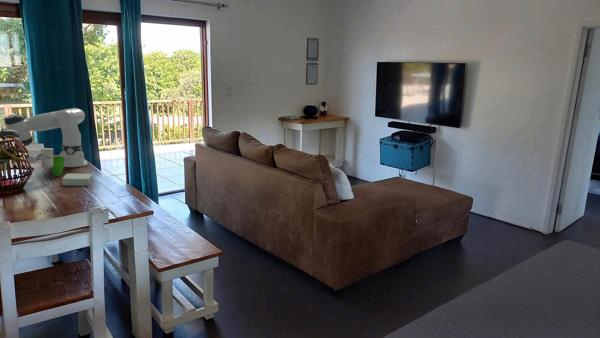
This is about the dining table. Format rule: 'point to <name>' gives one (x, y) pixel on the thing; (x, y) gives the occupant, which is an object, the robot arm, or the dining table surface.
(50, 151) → the cream block
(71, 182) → the base plinth
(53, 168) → the cup
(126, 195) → the dining table surface
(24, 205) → the dining table surface
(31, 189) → the dining table surface
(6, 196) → the dining table surface
